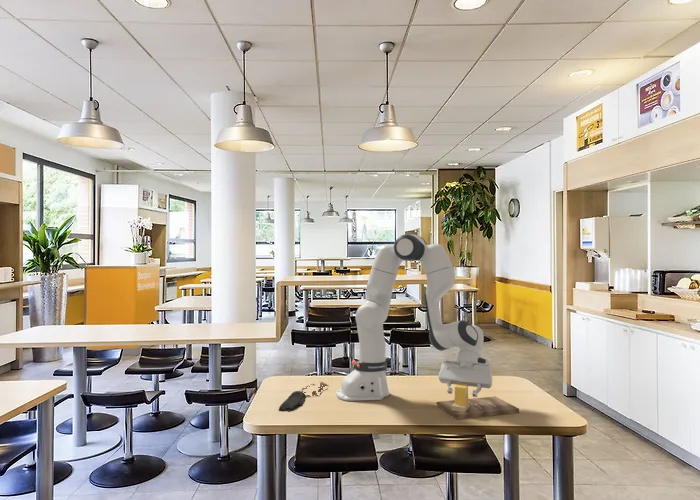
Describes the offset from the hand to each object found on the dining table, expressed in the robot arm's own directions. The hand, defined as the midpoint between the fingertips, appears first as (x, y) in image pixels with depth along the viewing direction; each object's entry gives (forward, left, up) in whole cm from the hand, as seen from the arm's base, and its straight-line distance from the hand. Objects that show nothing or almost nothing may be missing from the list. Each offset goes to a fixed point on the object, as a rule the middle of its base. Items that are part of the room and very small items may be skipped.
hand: (461, 394), depth 185 cm
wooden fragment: (-47, +45, -7) cm, 66 cm away
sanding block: (0, 0, -5) cm, 5 cm away
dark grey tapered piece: (-59, +28, -7) cm, 65 cm away
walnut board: (+7, +1, -6) cm, 10 cm away
